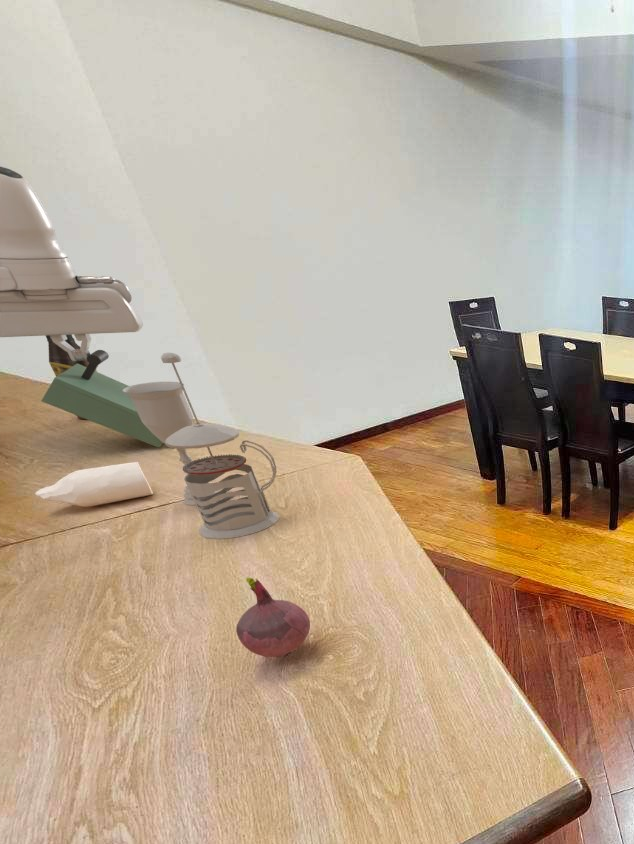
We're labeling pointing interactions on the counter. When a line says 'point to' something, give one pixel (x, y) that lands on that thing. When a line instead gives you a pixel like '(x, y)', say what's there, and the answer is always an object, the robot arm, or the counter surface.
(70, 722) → the counter surface
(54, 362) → the sauce bottle
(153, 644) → the counter surface
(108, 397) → the green wedge with knob
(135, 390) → the chalice
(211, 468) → the french press
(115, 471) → the white bottle
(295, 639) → the vegetable
